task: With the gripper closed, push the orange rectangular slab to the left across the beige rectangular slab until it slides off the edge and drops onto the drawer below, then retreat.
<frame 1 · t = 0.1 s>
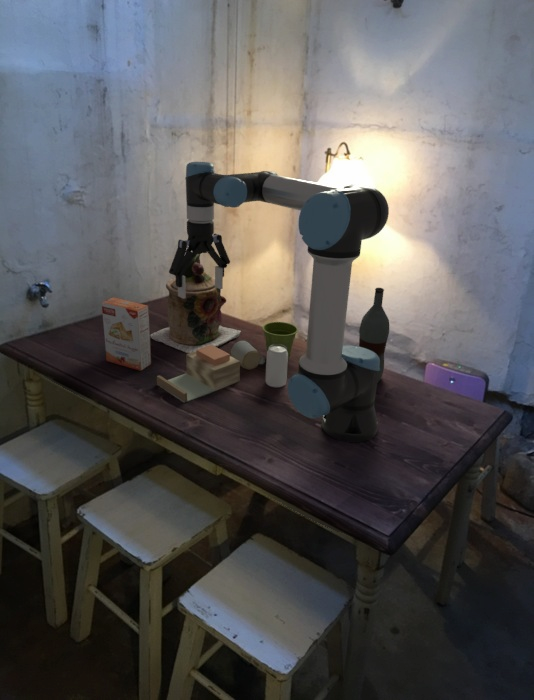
hand: (200, 292, 168), 28 cm above the table, fingers open, 13 cm apart
orange rectangular slab: (212, 357, 176), point 7 cm above the table, touching beige rectangular slab
beige rectangular slab: (212, 377, 179), on the table
ceramic mug: (248, 365, 189), on the table
plant pot: (278, 359, 194), on the table
bottle: (368, 377, 184), on the table
cookie jar: (195, 338, 207), on the table
cracker box: (128, 364, 186), on the table
can: (275, 383, 178), on the table
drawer: (185, 388, 173), on the table
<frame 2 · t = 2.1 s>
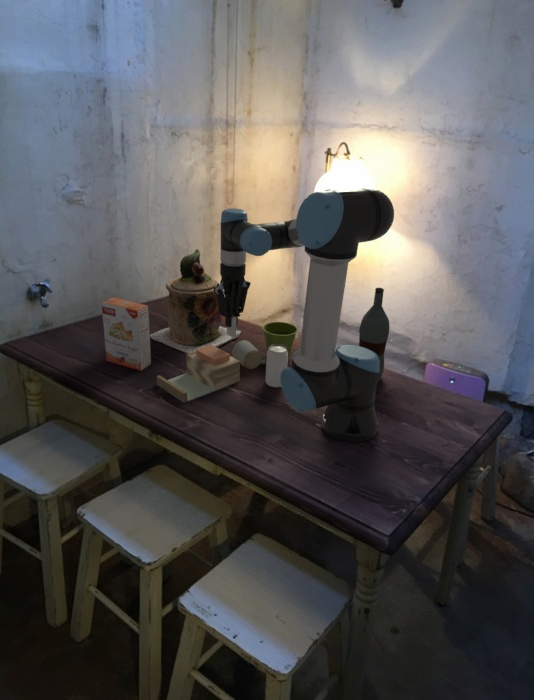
hand: (231, 335, 179), 12 cm above the table, fingers closed
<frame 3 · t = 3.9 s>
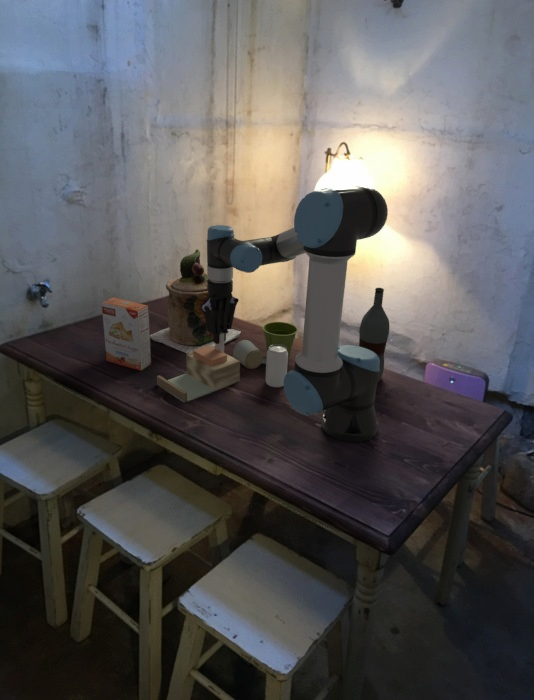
hand: (219, 351, 178), 8 cm above the table, fingers closed
orange rectangular slab: (210, 358, 176), point 7 cm above the table
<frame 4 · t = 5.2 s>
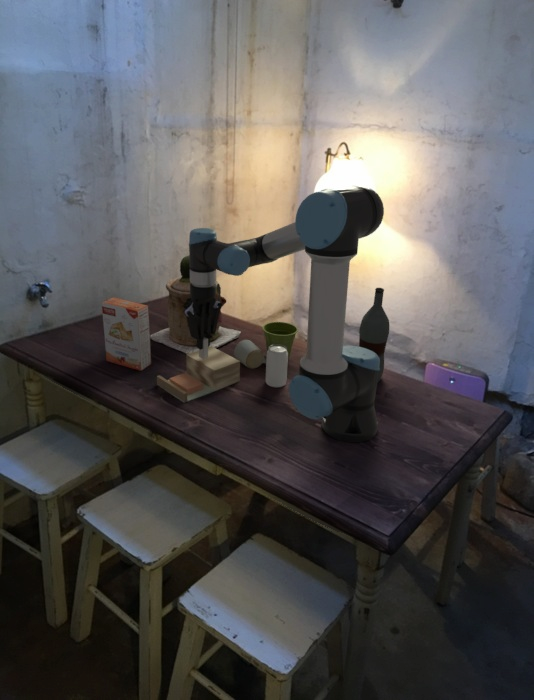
hand: (203, 357, 174), 8 cm above the table, fingers closed
orange rectangular slab: (186, 380, 172), point 2 cm above the table, tilted 180°, touching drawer
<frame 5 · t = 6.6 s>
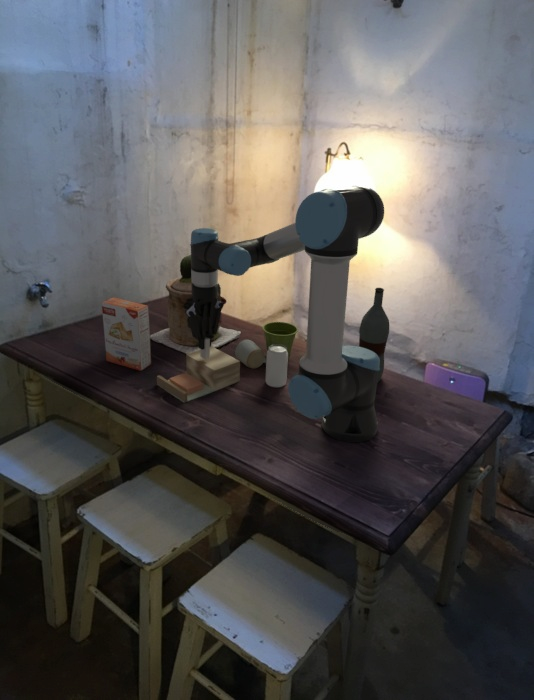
hand: (205, 357, 174), 8 cm above the table, fingers closed
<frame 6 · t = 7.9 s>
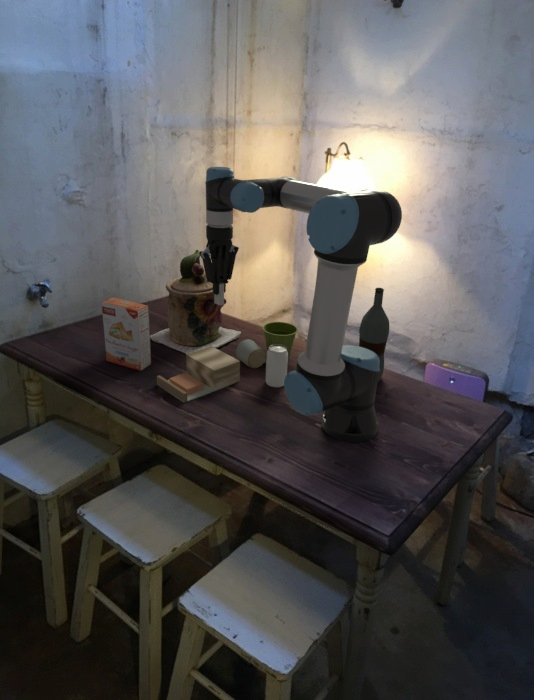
hand: (219, 303, 170), 24 cm above the table, fingers closed
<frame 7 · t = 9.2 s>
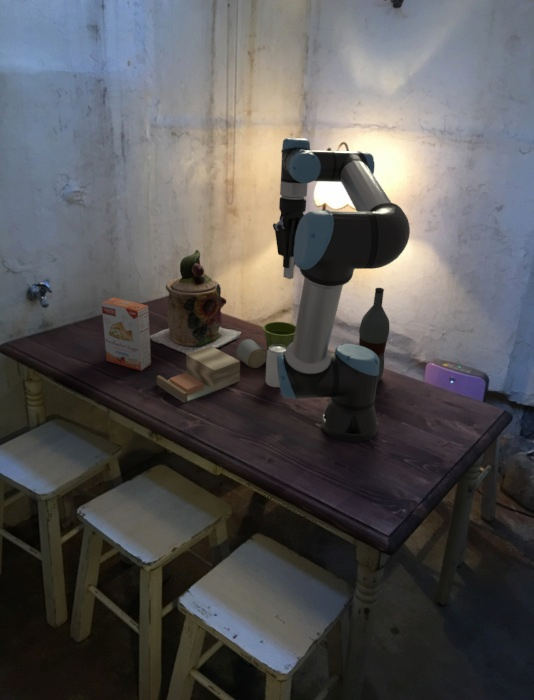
hand: (288, 277, 170), 32 cm above the table, fingers closed
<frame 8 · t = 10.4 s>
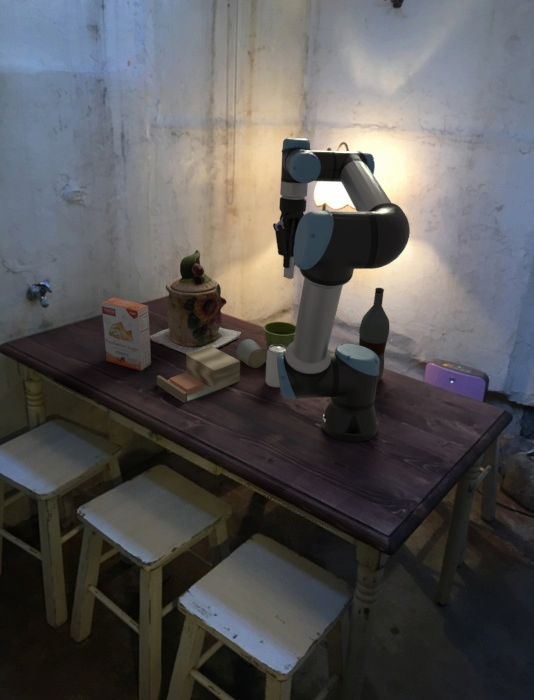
hand: (288, 277, 170), 32 cm above the table, fingers closed
at the end: orange rectangular slab point 2.4 cm above the table; orange rectangular slab inside the target area (0.8 cm from its centre), point 2.4 cm above the table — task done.
